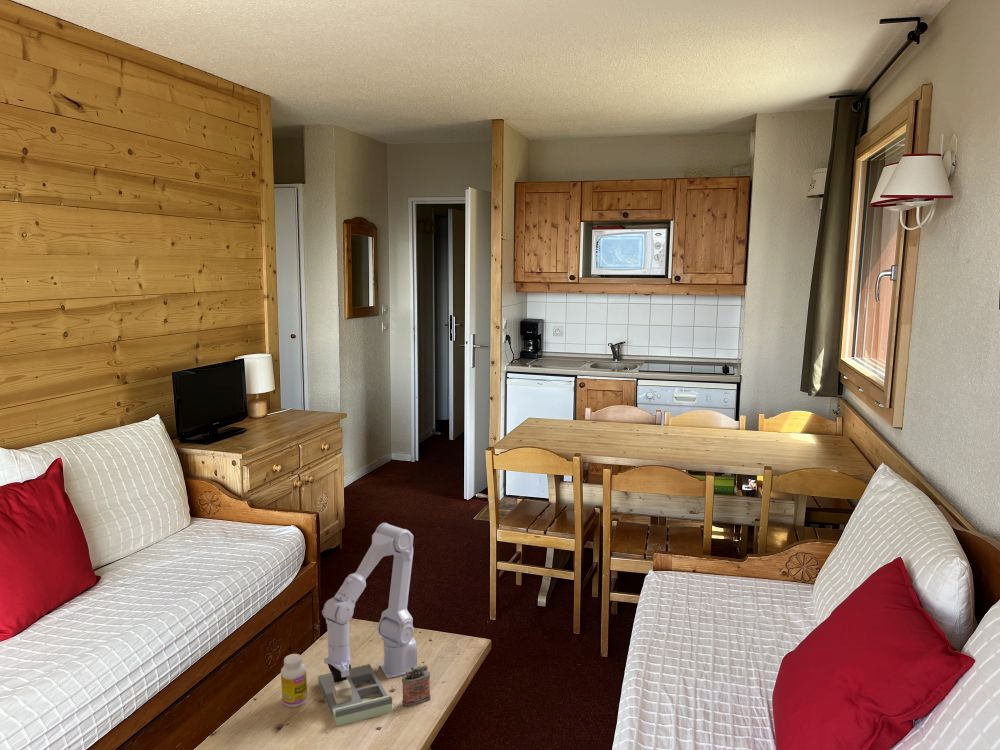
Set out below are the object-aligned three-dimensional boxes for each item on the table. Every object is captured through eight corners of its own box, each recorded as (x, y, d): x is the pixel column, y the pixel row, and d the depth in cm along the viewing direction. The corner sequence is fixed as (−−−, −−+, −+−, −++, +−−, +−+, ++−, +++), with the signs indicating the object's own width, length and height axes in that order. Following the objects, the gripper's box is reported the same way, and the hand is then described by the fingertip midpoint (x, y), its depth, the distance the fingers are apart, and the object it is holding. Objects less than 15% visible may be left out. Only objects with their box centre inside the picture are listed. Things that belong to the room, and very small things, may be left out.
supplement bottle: (294, 711, 203) (292, 668, 200) (277, 703, 206) (274, 661, 203) (312, 697, 208) (310, 656, 205) (295, 689, 211) (292, 648, 209)
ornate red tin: (404, 708, 204) (404, 674, 202) (400, 702, 207) (399, 668, 205) (432, 700, 208) (432, 666, 206) (427, 694, 210) (427, 661, 209)
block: (348, 693, 207) (347, 679, 206) (351, 700, 203) (351, 687, 202) (333, 696, 205) (332, 682, 204) (336, 704, 201) (336, 690, 201)
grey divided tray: (369, 671, 222) (369, 659, 221) (392, 712, 202) (392, 698, 202) (318, 683, 216) (318, 670, 215) (336, 726, 196) (336, 712, 195)
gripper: (318, 633, 210) (319, 678, 212) (329, 657, 197) (331, 706, 199) (343, 628, 213) (344, 673, 215) (356, 652, 200) (357, 699, 202)
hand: (340, 688), depth 207 cm, fingers closed
